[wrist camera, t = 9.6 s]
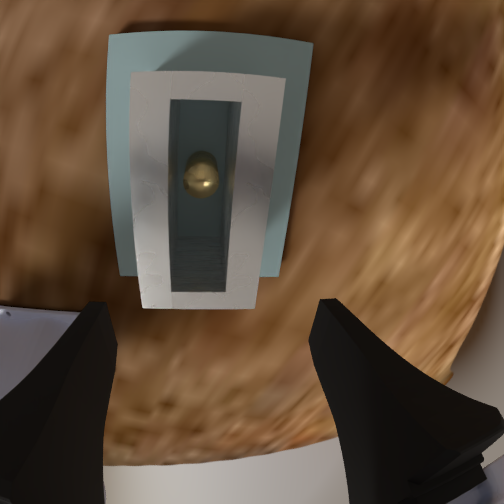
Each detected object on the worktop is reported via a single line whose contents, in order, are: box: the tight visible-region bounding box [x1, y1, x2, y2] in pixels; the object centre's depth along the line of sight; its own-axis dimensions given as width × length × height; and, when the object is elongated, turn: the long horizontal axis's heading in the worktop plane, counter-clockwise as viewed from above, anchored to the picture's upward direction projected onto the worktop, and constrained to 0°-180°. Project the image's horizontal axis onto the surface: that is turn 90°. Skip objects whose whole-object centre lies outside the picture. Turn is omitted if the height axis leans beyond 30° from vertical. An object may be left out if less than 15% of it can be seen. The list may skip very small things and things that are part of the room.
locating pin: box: [183, 151, 219, 198], centre depth 15 cm, size 2×2×2 cm
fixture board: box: [106, 31, 313, 277], centre depth 16 cm, size 10×14×1 cm
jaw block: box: [129, 71, 286, 309], centre depth 14 cm, size 5×10×5 cm, turn 174°
